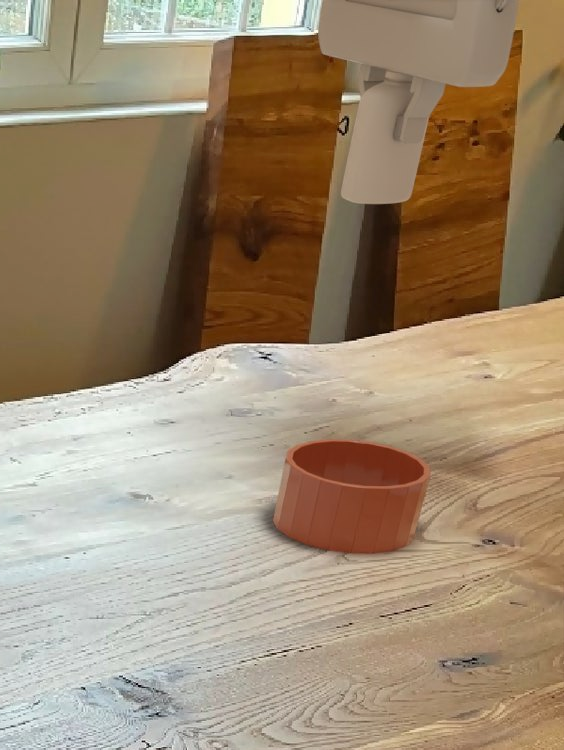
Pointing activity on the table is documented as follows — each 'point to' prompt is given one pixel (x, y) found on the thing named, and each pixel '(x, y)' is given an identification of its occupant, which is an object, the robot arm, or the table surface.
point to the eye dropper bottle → (381, 146)
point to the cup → (351, 496)
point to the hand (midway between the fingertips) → (388, 136)
